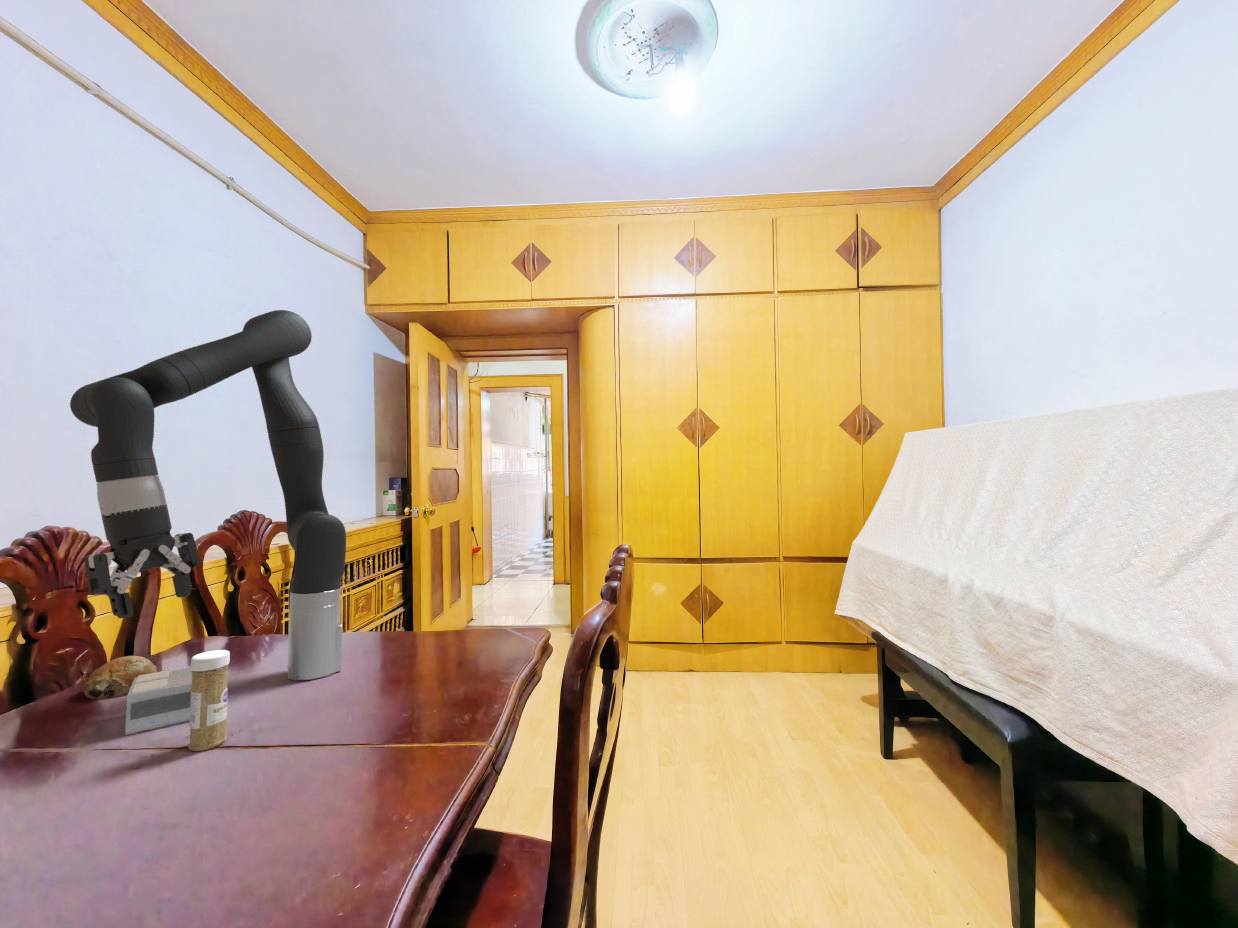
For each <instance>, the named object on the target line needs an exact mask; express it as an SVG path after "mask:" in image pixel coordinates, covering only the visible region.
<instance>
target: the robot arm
mask: <svg viewBox="0 0 1238 928" xmlns="http://www.w3.org/2000/svg"><path fill="white" fill-rule="evenodd" d="M312 338H313V337H312V330H311V328H310V325H309V324H308V323H307V321H306V320H305V319H304V318H303V316H300V314H297V313H295V312H293V311H291V310H286V309H276V310H272V311H268V312H265V313H262V314H259V315H256V316H254V317H251V318H249V319H248V320H247V321H246V322H245V323H244V325H243V328H242V331H239V332H236V333H235V334H232V335H229V336H228V335H227V336H226V337H223V338H219V339H216V340H213V341H209V342H206V343H203V344H199V345H196V346H192V347H189V348H186V349H183V350H179V351H177V352H174V353H171V354H168V355H166V356H163V357H160V358H157V359H155V360H152V361H150V362H148V363H146V364H144V365H141V366H140V367H137V368H136V369H133V370H130V371H127V372H122V373H120V374H116V375H112V376H110V377H107V378H104V379H101V380H98V381H95V382H91V383H88V384H86V385H83V386H81V387H80V388H78V389H77V390H76V391H75V392H74V393H73V394H72V397H71V398H70V401H69V402H70V403H69V404H70V405H69V407H70V411H71V413H72V415H73V416H74V417H75V418H76V419H77V420H79V422H81V423H84V424H86V425H87V426H91V427H95V428H97V435H98V439H97V440H98V441H97V443H96V444H95V445H94V446H93V447H92V449H91V451H90V457H91V458H90V459H91V465H92V469H93V474H94V477H95V482H96V497H97V502H98V507H99V513H100V516H101V520H102V521H101V522H102V524H103V530H104V533H105V538H106V541H107V542H108V543H109V545H110V548H109V551H108V552H103V553H93V554H92V553H91V554H88V555H87V554H86V555H85V556H84V565H85V566H84V567H85V574H86V579H87V585H88V586H87V587H88V593H89V595H90V596H98V595H100V596H102V595H103V596H107V597H108V599H109V603H110V609H111V612H112V614H113V615H114V617H117V618H118V619H128V618H131V617H133V616H134V609H133V605H132V600H131V596H130V592H128V588H129V586H130V585H131V583H132V582H133V580H134V579H136V577H137V576H138V574H139V573H143V572H148V571H149V570H151V569H157V568H163V569H165V570H167V571H168V572H170V573H171V574H172V576H171V578H172V583H173V588H174V592H175V596H176V597H177V598H185V597H189V596H191V595H192V591H193V586H192V579H191V576H190V573H191V571H192V570H193V569H195V568H196V567H200V565H201V559H200V556H199V551H198V548H197V545H196V541H195V536H194V534H193V533H192V532H186V533H176V534H175V535H174V536H173V535H172V534H171V530H172V528H173V527H172V522H171V518H170V513H169V507H168V503H167V499H166V494H165V490H164V486H163V484H162V481H161V480H160V475H159V472H158V466H157V461H156V458H155V454H154V449H153V445H154V437H155V409H156V408H158V407H161V406H163V405H166V404H170V403H175V402H178V401H181V400H183V399H186V398H188V397H190V396H193V395H194V394H197V393H199V392H202V391H203V390H206V389H208V388H210V387H212V386H215V385H216V384H218V383H220V382H222V381H224V380H227V379H229V378H231V377H232V376H235V375H237V374H240V373H242V372H244V371H246V370H248V369H250V368H251V369H252V372H253V374H254V375H253V376H254V377H255V380H256V381H255V382H256V385H257V387H258V392H259V397H260V402H261V406H262V407H261V408H262V410H263V416H264V419H265V424H266V426H265V427H266V430H267V435H268V440H269V446H270V451H271V453H272V458H273V462H274V465H275V469H276V472H277V474H276V475H277V477H278V480H279V483H280V486H281V489H282V494H283V500H284V509H285V519H286V520H285V521H286V533H287V540H288V543H289V545H290V546H291V548H292V549H293V550H294V551H295V560H294V563H295V565H294V572H293V575H292V577H291V579H290V581H289V583H290V584H289V586H290V587H289V611H288V613H289V614H288V615H289V616H288V620H289V621H288V644H287V645H288V647H287V650H288V653H287V678H288V679H290V680H293V681H308V680H315V679H321V678H323V677H327V676H330V675H332V674H334V673H337V672H341V671H342V664H343V663H342V661H343V660H342V659H343V657H342V656H343V655H342V654H343V653H342V652H343V651H342V650H343V624H342V623H341V602H342V601H341V599H342V598H341V596H342V579H343V576H344V574H345V569H346V553H347V533H346V528H345V525H344V523H343V522H342V521H341V520H340V519H339V518H338V517H337V516H334V515H333V514H329V512H328V508H327V504H326V501H325V496H324V493H323V471H324V460H325V459H324V456H325V455H324V444H323V438H322V434H321V428H320V424H319V421H318V418H317V416H316V414H315V412H314V411H313V409H312V408H311V406H310V405H309V403H308V402H307V401H306V400H305V398H304V397H303V396H302V394H301V393H300V392H299V390H298V388H297V387H296V384H295V382H294V379H293V374H292V370H291V363H290V358H292V357H296V356H298V355H300V354H302V353H304V352H305V351H306V350H307V349H308V348H309V346H310V345H311V342H312ZM174 547H175V548H176V549H177V552H178V555H177V554H176V553H175V552H173V549H174ZM112 562H114V563H115V564H116V565H115V567H114V568H113V570H112V572H111V573H110V565H112Z"/></svg>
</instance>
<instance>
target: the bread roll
mask: <svg viewBox="0 0 1238 928" xmlns="http://www.w3.org/2000/svg"><path fill="white" fill-rule="evenodd" d="M157 670H158V669H157V666H156V665H155V664H154V663H153V662H152V661H151V660H150V659H148V658H145V657H144V656H140V655H139V656H137V655H126V656H121V657H117V658H114V659H112V660H110V661H108V662H106V663H104V664H103V665H102V666H100V667H99V668H97V669H96V670H95V671H93V672H92V674H91V675H90V676H89V677H88V678H87V679H86V682H85V684H84V688H83V690H82V691H83V693H84V696H85V697H86V698H87V699H93V700H105V698H107V699H112V698H111V697H113V698H118V696H119V697H122V695H123V696H127V695H126V694H128V693H129V690H130V688H131V686H132V683H133V681H134V679H135V678H136V677H138V676H139V675H144V674H150V673H156V672H158V671H157Z"/></svg>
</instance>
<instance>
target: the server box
mask: <svg viewBox="0 0 1238 928" xmlns="http://www.w3.org/2000/svg"><path fill="white" fill-rule="evenodd" d="M191 690H192V670H191V667H190V668H183V669H182V668H181V669H177V670H170V669H169V670H163V671H157V672H156V673H150V674H144V675H139V676H138V677H136V678H135V679H134V681H133V683H132V686H131V688H130V690H129V693H128V695H126V715H125V736H129V735H132V734H133V735H134V734H137V733H142V732H146V731H152V730H154V729H160V728H165V727H168V726H172V725H178V724H181V723H186V722H190V702H191Z"/></svg>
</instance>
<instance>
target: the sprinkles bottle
mask: <svg viewBox="0 0 1238 928" xmlns="http://www.w3.org/2000/svg"><path fill="white" fill-rule="evenodd" d="M230 653H231V652H230V651H229V650H227V649H215V650H210V651H209V650H208V651H204V652H201V653H197V654H194V656H192V657H191V661H190V668H191V670H192V690H191V702H190V721H189V743H188V749H189V750H190V751H193V752H200V751H201V752H202V751H207V750H208V751H209V750H210V749H213V748H216V747H218V746H220V745H222V744H223V743H225V741H226V740H227V738H228V736H227V718H228V698H229V696H228V694H229V691H228V690H229V689H228V679H229V678H228V673H229V664H230V662H231V661H230V659H231V655H230Z"/></svg>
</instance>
